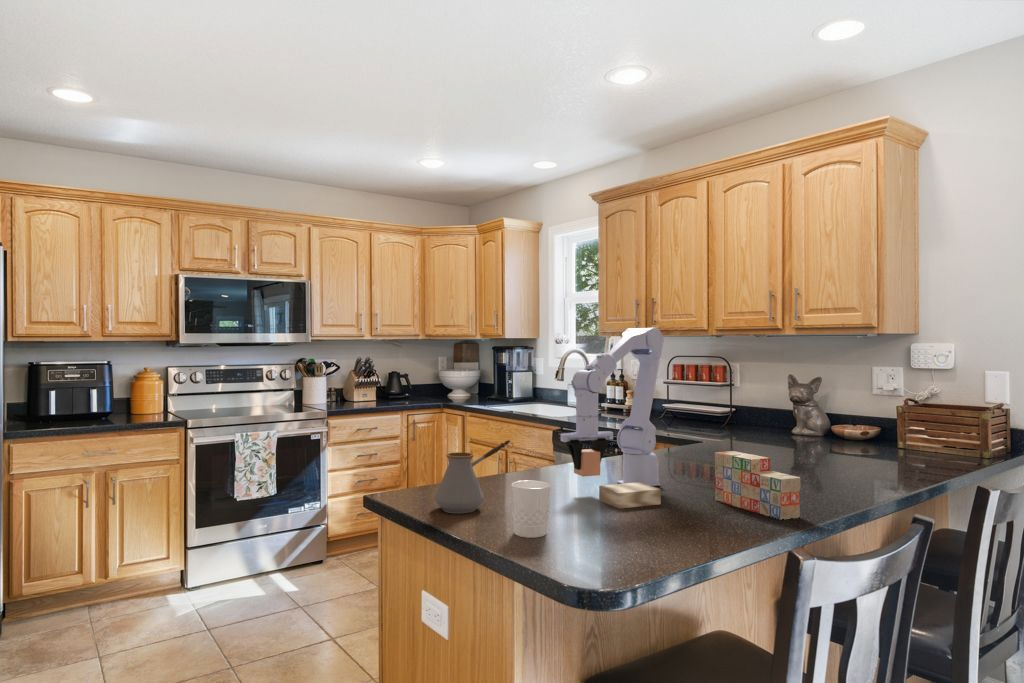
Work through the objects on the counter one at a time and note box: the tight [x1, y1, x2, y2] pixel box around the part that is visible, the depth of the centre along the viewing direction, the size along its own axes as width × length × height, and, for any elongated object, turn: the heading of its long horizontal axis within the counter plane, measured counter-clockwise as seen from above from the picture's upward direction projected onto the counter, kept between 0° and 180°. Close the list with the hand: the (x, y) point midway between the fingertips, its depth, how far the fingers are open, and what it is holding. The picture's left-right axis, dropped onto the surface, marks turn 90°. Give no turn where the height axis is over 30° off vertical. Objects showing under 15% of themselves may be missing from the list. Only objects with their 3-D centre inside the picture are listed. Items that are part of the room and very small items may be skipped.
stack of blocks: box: [714, 450, 801, 521], centre depth 154 cm, size 21×6×12 cm, turn 23°
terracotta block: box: [573, 448, 601, 478], centre depth 167 cm, size 5×5×6 cm
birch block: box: [598, 482, 662, 509], centre depth 159 cm, size 12×9×4 cm
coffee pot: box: [434, 439, 514, 514], centre depth 153 cm, size 21×12×15 cm, turn 130°
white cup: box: [510, 479, 551, 539], centre depth 131 cm, size 8×8×10 cm
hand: (586, 468), depth 167 cm, fingers closed on terracotta block, 5 cm apart
